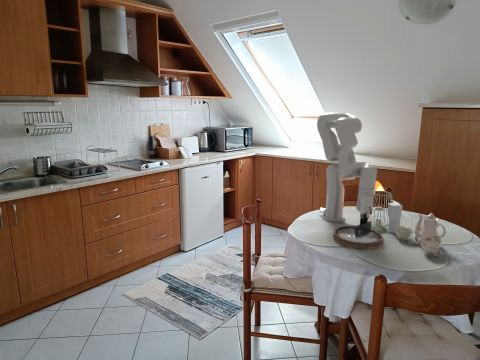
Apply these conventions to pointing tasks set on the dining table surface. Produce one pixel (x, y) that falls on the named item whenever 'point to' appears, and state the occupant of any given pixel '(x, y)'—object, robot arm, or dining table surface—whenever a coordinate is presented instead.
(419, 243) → the chinaware
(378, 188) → the orange juice
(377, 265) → the dining table surface
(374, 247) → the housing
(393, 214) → the skincare box
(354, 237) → the dial
